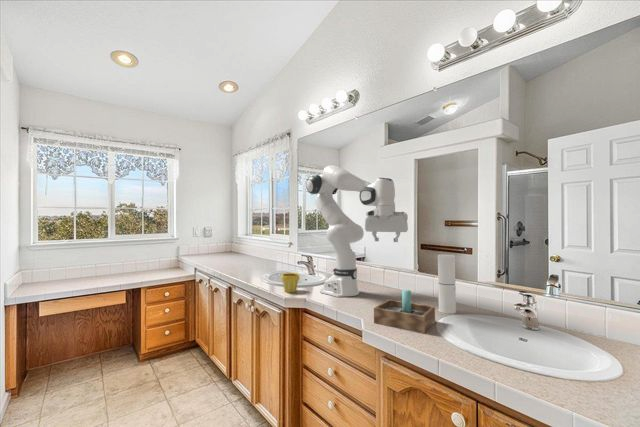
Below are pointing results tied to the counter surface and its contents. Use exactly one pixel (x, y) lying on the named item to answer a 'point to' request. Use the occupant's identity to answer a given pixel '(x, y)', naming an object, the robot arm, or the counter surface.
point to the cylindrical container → (446, 284)
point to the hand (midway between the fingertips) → (386, 241)
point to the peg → (406, 301)
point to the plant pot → (290, 282)
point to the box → (405, 316)
